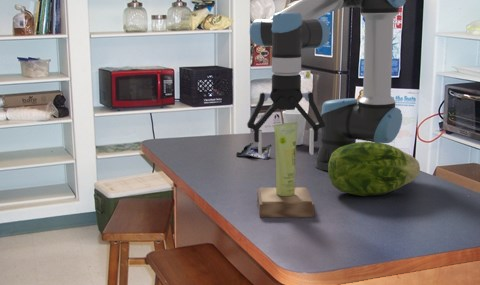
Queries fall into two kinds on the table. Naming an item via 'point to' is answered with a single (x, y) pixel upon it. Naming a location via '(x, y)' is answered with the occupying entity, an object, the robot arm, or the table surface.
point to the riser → (285, 203)
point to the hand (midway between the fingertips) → (285, 153)
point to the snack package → (255, 151)
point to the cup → (296, 117)
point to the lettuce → (371, 168)
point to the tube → (285, 157)
